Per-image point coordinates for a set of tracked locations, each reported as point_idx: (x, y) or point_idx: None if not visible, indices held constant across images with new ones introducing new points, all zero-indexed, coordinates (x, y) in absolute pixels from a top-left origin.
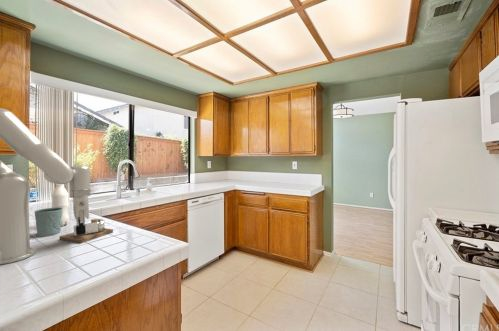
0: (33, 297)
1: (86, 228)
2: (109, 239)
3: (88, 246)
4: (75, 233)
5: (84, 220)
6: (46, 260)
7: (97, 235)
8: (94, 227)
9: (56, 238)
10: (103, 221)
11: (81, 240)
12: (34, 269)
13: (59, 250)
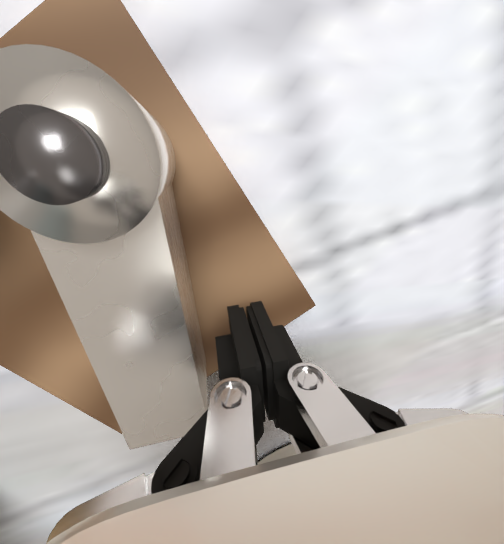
0: None
1: (189, 315)
2: (365, 93)
3: (400, 249)
4: (205, 367)
5: (369, 428)
6: (429, 381)
7: (241, 191)
8: (175, 235)
9: (80, 432)
10: (115, 81)
11: (311, 300)
12: (478, 389)
13: (344, 368)
